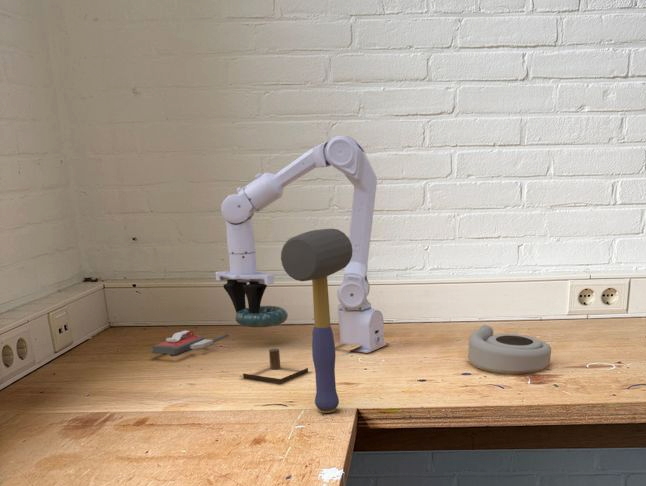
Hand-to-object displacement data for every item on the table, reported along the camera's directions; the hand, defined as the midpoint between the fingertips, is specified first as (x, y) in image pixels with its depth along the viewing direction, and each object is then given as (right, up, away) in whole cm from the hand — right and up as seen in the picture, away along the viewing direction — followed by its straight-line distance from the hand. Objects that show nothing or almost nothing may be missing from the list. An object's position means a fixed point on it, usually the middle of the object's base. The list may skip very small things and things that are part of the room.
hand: (247, 315), depth 175 cm
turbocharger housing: (+55, -12, -15) cm, 58 cm away
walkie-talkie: (-13, -8, +2) cm, 15 cm away
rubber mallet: (+21, -22, -40) cm, 51 cm away
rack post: (+9, -14, -18) cm, 25 cm away
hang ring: (+3, 0, -2) cm, 4 cm away
